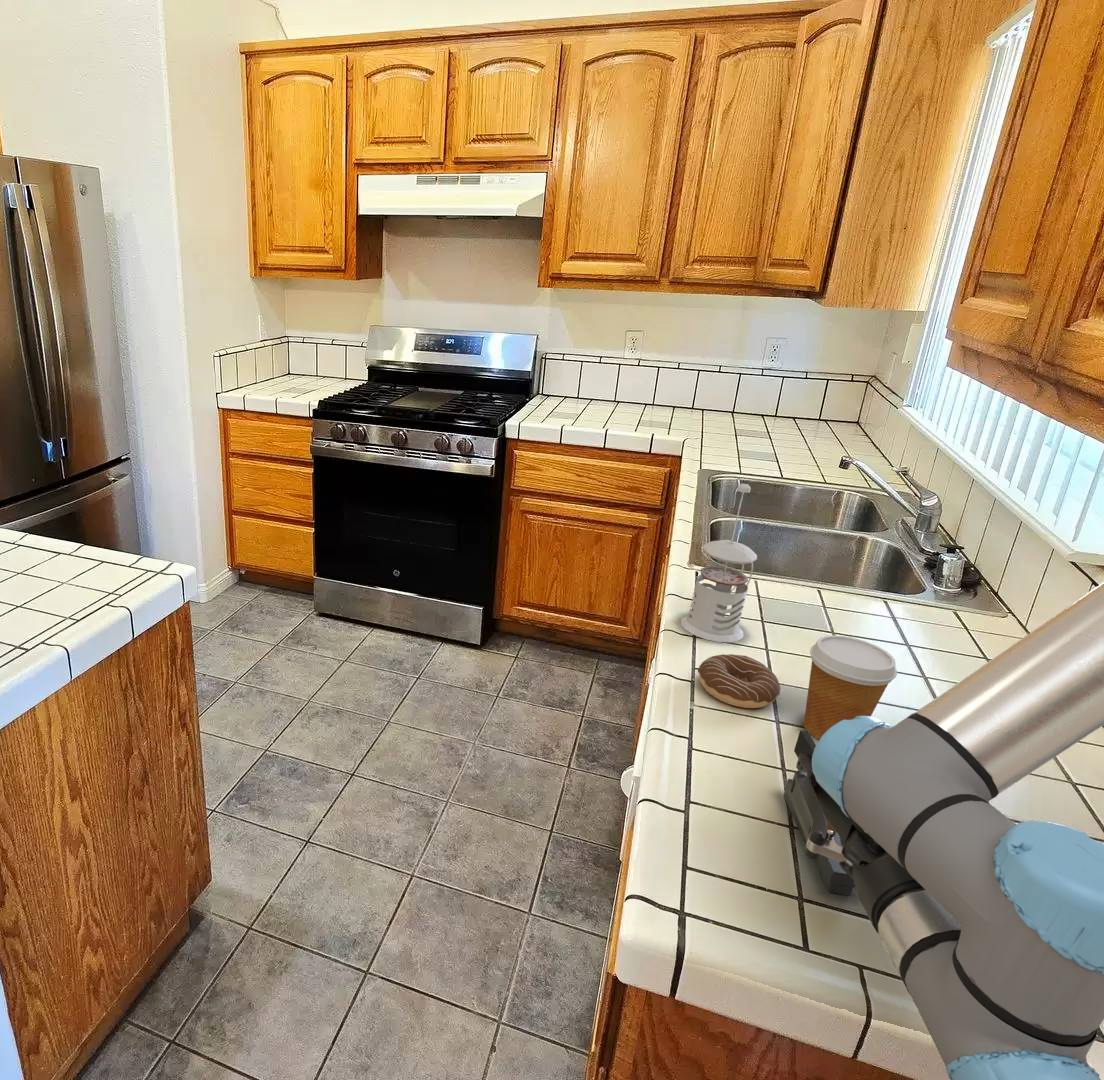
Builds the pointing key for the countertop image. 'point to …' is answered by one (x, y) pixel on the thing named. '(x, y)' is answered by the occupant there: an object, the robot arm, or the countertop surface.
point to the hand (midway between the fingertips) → (819, 743)
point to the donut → (739, 680)
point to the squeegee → (825, 858)
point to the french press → (721, 590)
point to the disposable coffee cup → (845, 681)
